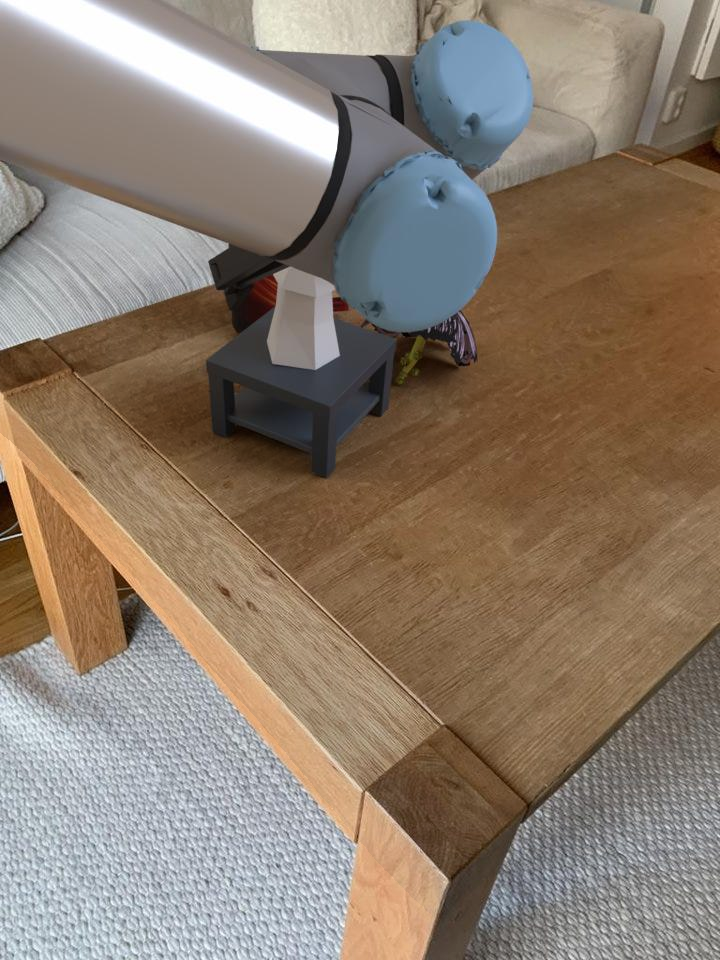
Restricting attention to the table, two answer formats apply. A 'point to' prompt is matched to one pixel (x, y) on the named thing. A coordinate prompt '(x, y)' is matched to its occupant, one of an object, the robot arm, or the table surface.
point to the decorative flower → (449, 331)
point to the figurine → (302, 321)
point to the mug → (265, 303)
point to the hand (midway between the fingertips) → (294, 283)
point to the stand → (301, 390)
